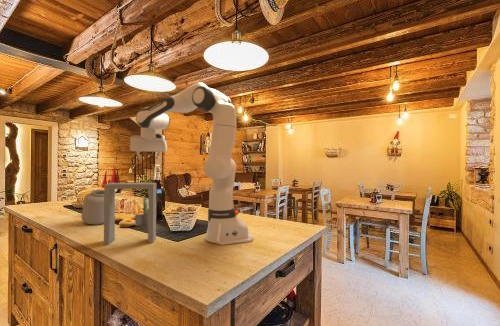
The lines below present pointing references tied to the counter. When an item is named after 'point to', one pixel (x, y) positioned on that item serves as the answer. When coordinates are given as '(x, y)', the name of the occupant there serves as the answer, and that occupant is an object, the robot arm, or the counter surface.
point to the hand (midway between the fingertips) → (148, 159)
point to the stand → (110, 209)
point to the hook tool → (142, 215)
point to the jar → (94, 207)
